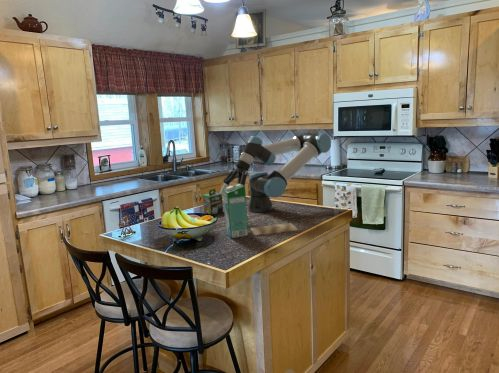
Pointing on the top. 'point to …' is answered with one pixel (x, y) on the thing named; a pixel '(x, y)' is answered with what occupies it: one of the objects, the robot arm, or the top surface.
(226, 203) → the milk carton
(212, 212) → the chalk box
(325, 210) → the top surface
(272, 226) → the cork mat
